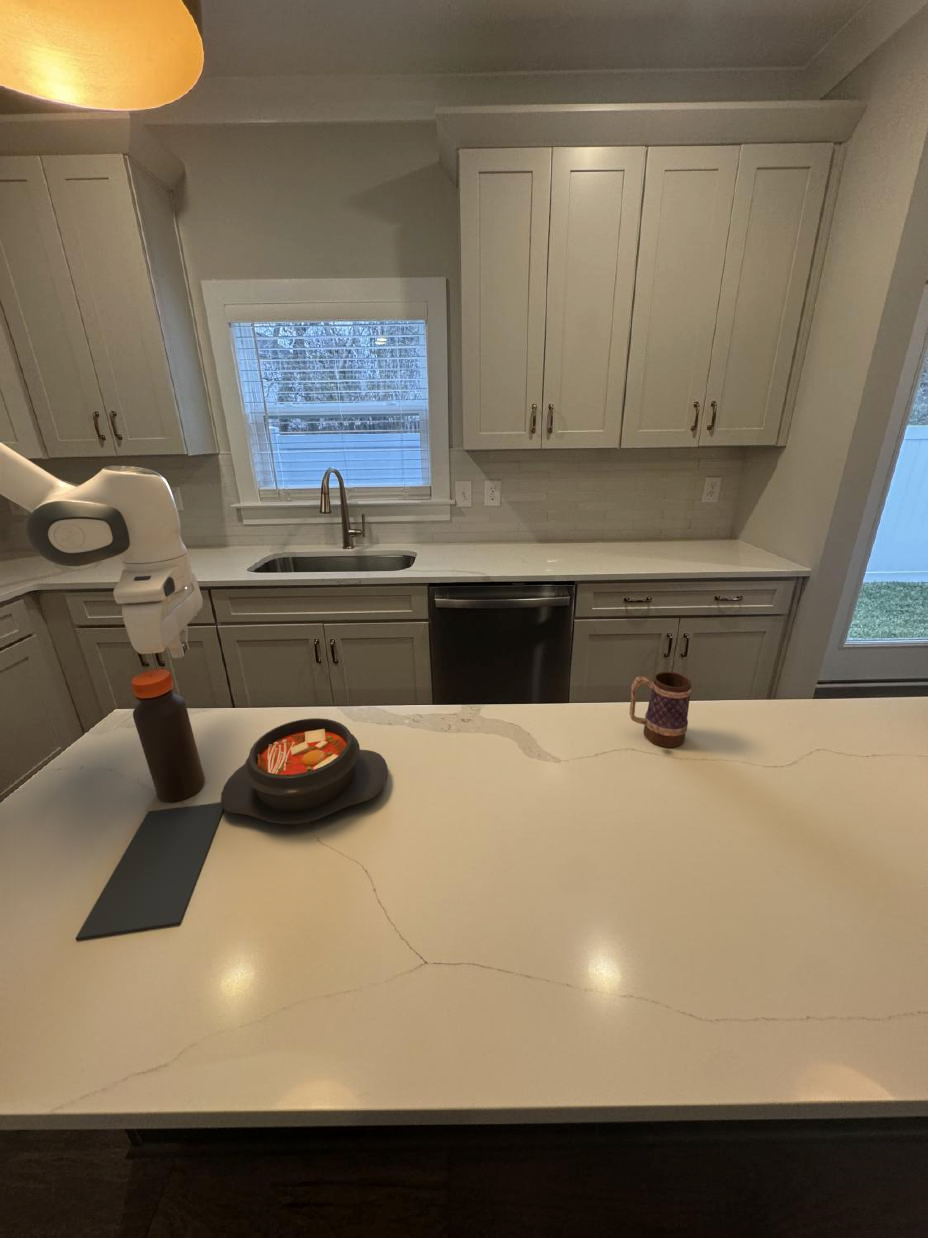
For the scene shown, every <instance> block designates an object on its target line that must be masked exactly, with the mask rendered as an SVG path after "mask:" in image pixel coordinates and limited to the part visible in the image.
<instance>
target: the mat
mask: <svg viewBox="0 0 928 1238" xmlns="http://www.w3.org/2000/svg"><path fill="white" fill-rule="evenodd" d="M224 811H225V809H224V808H223V807H222V804H221V801H220V802H212V803H205V804H196V805H188V806H180V807H172V808H171V807H170V808H165V809H156V810H148V811H147V812H146V814H145V816H144V817H143V819H142V821H141V822H140V825H139V827H138V828H137V830H136V832H135V833H134V835H133V837H132V839H131V840H130V842H129V844H128V845H127V848H126V849H125V851H124V853H123V854H122V856H121V858H120V859H119V861H118V863H117V865H116V867H115V868H114V870H113V871H112V874H111V875H110V877H109V879H108V881H107V882H106V884H105V886H104V887H103V889H102V891H101V893H100V895H99V896H98V898H97V900H96V901H95V903H94V905H93V907H92V909H91V910H90V912H89V914H88V916H87V917H86V919H85V921H84V922H83V924H82V926H81V928H80V929H79V931H78V933H77V934H76V936H75V940H76V941H82V940H88V939H94V938H95V939H96V938H101V937H107V936H113V935H114V936H115V935H120V934H127V933H135V932H139V931H146V930H153V929H159V928H166V927H167V928H168V927H172V926H173V927H174V926H180V925H181V924H182V921H183V919H184V917H185V914H186V911H187V909H188V907H189V903H190V901H191V898H192V895H193V893H194V890H195V887H196V885H197V882H198V880H199V876H200V874H201V871H202V869H203V866H204V864H205V861H206V859H207V856H208V853H209V850H210V849H211V845H212V843H213V840H214V837H215V835H216V833H217V831H218V827H219V824H220V823H221V819H222V817H223V814H224Z"/></svg>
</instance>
